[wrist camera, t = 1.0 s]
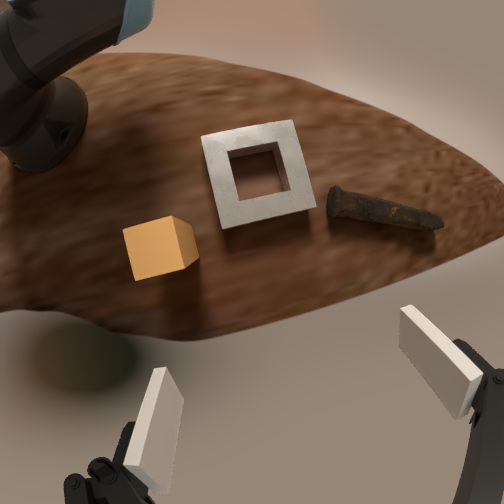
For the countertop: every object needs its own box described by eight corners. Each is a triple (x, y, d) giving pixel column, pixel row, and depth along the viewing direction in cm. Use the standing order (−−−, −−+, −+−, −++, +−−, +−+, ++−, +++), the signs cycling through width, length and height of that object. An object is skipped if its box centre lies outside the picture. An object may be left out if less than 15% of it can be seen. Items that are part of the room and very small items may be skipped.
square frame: (202, 146, 34) (200, 136, 31) (285, 129, 35) (292, 119, 32) (222, 230, 35) (222, 229, 31) (307, 209, 36) (316, 206, 32)
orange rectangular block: (160, 233, 34) (122, 229, 20) (191, 225, 34) (171, 215, 20) (168, 265, 34) (135, 281, 20) (199, 257, 35) (184, 268, 21)
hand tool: (321, 217, 36) (335, 214, 32) (326, 187, 36) (339, 181, 32) (429, 243, 38) (448, 244, 34) (432, 218, 38) (451, 217, 34)
